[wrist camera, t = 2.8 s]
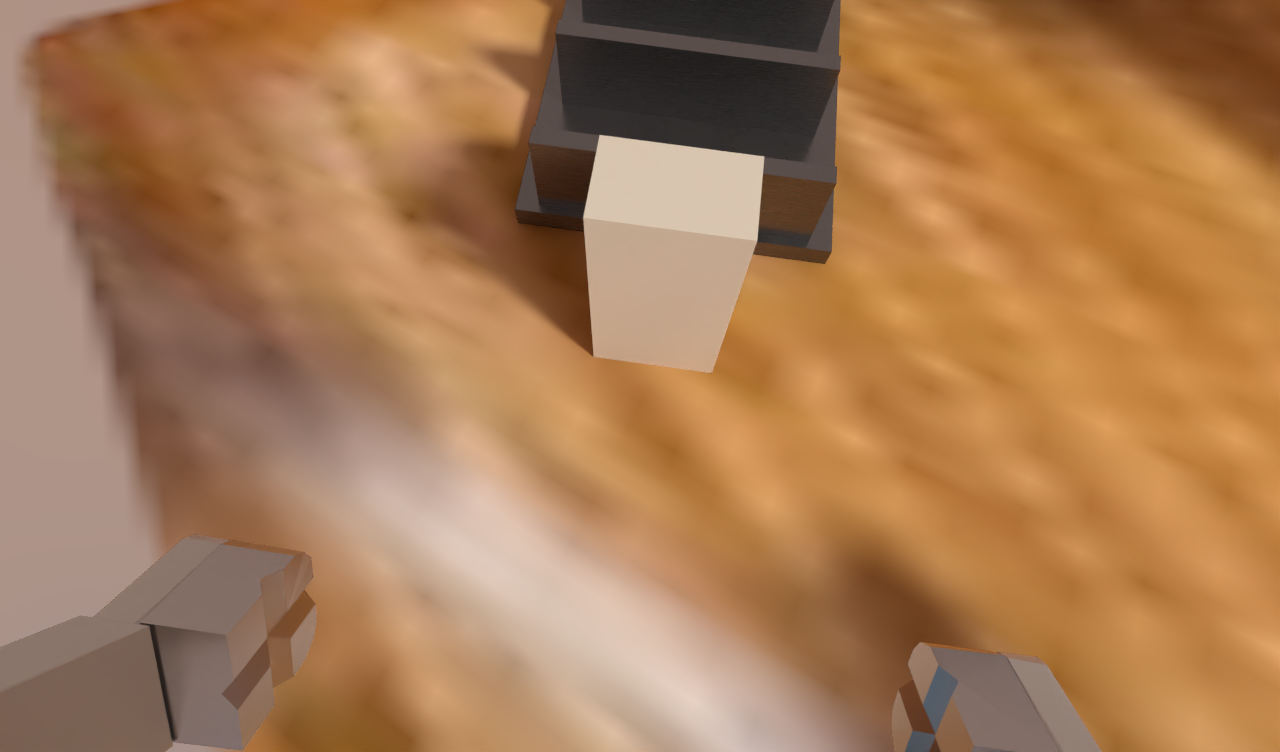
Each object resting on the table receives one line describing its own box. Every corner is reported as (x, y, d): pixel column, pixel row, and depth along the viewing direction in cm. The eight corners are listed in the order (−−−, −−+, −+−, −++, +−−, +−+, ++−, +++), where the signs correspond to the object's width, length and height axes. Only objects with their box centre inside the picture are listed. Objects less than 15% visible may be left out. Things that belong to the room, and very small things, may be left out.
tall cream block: (604, 294, 30) (599, 135, 21) (718, 310, 30) (764, 156, 21) (593, 356, 29) (583, 217, 20) (711, 373, 29) (757, 241, 20)
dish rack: (586, -63, 38) (582, -161, 34) (836, -31, 38) (867, -126, 33) (517, 222, 31) (501, 147, 27) (824, 263, 31) (862, 195, 26)
